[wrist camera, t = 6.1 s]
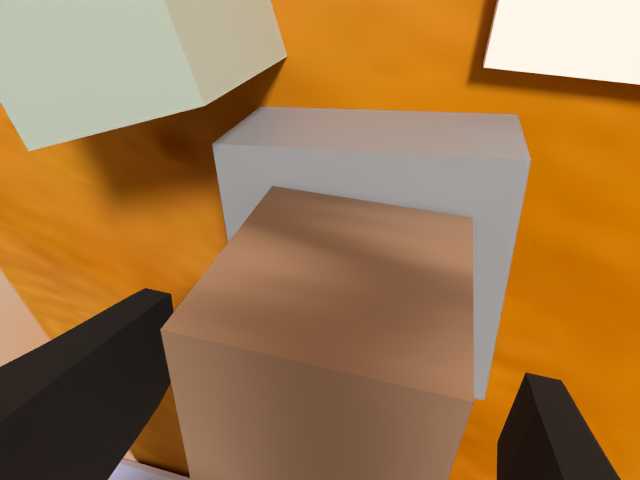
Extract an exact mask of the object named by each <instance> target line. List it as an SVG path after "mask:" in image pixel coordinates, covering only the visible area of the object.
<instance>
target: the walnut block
mask: <svg viewBox="0 0 640 480" xmlns="http://www.w3.org/2000/svg"><path fill="white" fill-rule="evenodd" d="M160 330H161V335H162V340H163V345H164V350H165V355H166V360H167V365H168V370H169V375H170V380H171V385H172V390H173V395H174V400H175V405H176V410H177V415H178V420H179V425H180V430H181V435H182V440H183V444H184V449H185V454H186V459H187V464H188V469H189V474H190V479H191V480H448V479H449V476H450V473H451V470H452V467H453V464H454V461H455V458H456V455H457V452H458V449H459V446H460V443H461V440H462V437H463V434H464V431H465V428H466V425H467V422H468V419H469V416H470V413H471V410H472V407H473V404H474V321H473V218H472V217H466V216H459V215H453V214H447V213H440V212H434V211H428V210H422V209H415V208H409V207H403V206H396V205H390V204H384V203H377V202H371V201H365V200H359V199H352V198H346V197H340V196H333V195H327V194H321V193H314V192H308V191H302V190H296V189H289V188H283V187H277V186H272V187H271V188H270V189H269V191H268V192H267V193H266V195H265V196H264V197H263V198H262V200H261V201H260V202H259V204H258V205H257V206H256V207H255V209H254V210H253V211H252V213H251V214H250V215H249V216H248V218H247V219H246V220H245V222H244V223H243V224H242V225H241V227H240V228H239V229H238V231H237V232H236V233H235V234H234V236H233V237H232V238H231V240H230V241H229V242H228V243H227V245H226V246H225V247H224V249H223V250H222V251H221V252H220V254H219V255H218V256H217V257H216V259H215V260H214V261H213V263H212V264H211V265H210V266H209V268H208V269H207V270H206V272H205V273H204V274H203V275H202V277H201V278H200V279H199V281H198V282H197V283H196V284H195V286H194V287H193V288H192V290H191V291H190V292H189V293H188V295H187V296H186V297H185V299H184V300H183V301H182V302H181V304H180V305H179V306H178V308H177V309H176V310H175V311H174V313H173V314H172V315H171V317H170V318H169V319H168V320H167V322H166V323H165V324H164V326H163V327H162V328H161V329H160Z"/></svg>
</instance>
